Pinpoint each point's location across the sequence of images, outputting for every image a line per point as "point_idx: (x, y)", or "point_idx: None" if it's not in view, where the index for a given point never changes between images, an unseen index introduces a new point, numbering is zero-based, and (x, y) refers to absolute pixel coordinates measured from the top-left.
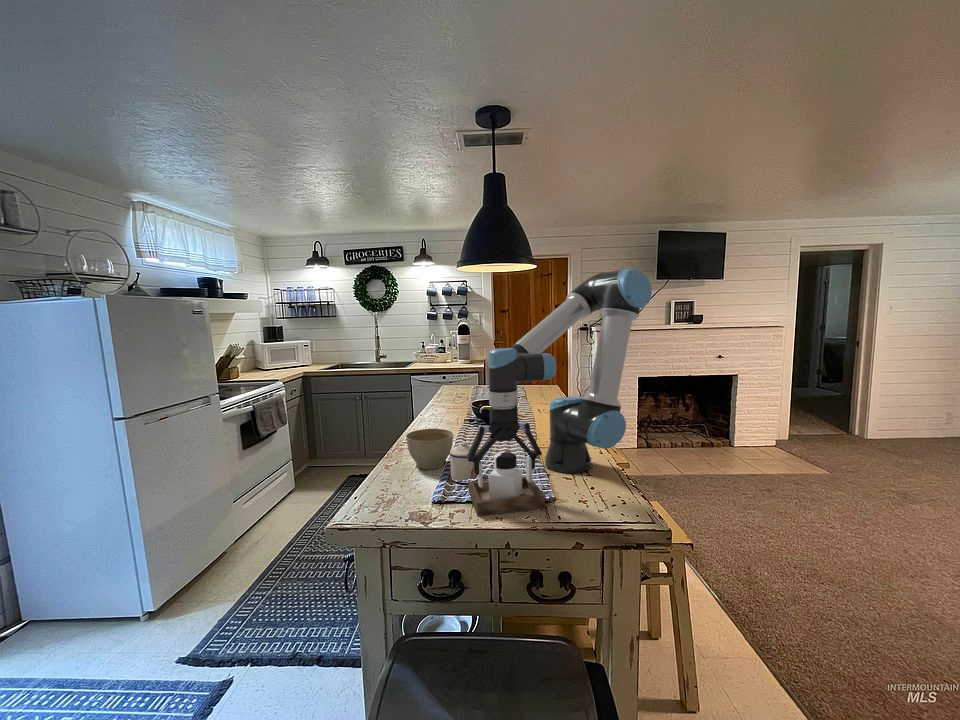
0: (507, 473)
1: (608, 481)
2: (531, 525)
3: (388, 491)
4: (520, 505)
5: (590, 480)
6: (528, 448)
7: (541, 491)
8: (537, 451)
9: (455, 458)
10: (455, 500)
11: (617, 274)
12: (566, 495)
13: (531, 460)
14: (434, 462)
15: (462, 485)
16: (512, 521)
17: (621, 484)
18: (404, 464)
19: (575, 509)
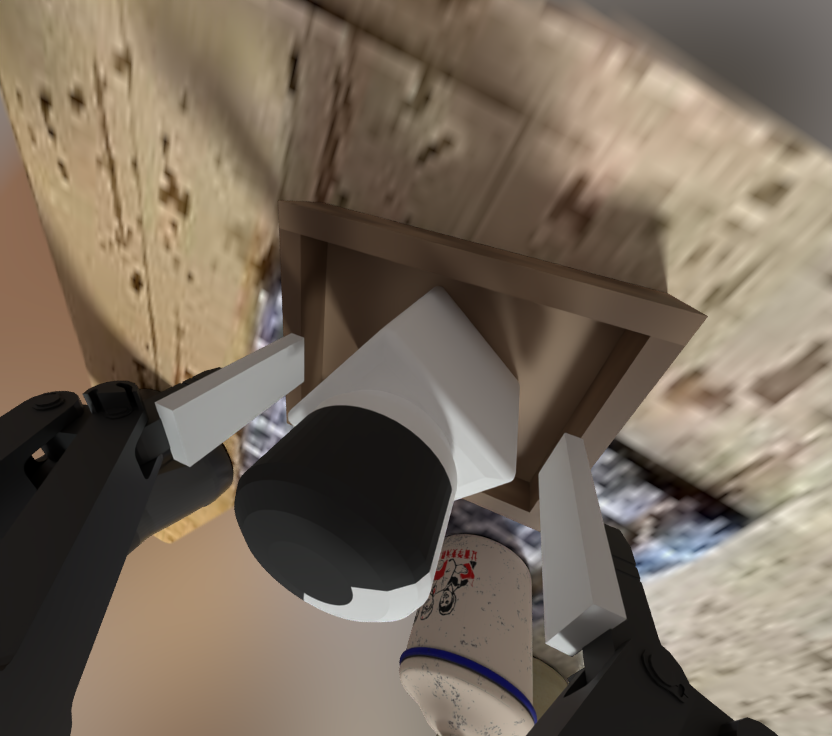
0: (395, 401)
1: (92, 298)
2: (465, 20)
3: (824, 686)
4: (424, 233)
5: (137, 333)
6: (44, 489)
7: (281, 263)
8: (31, 422)
9: (527, 691)
10: (631, 480)
11: None
12: (219, 277)
13: (165, 397)
14: (534, 685)
15: (516, 542)
16: (534, 133)
17: (59, 258)
18: None
19: (211, 131)
